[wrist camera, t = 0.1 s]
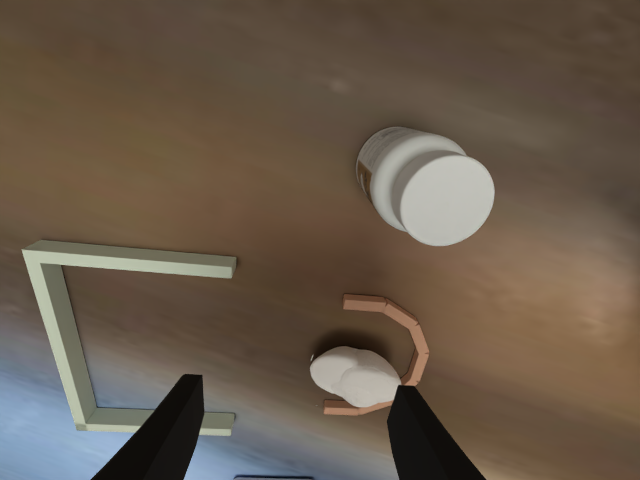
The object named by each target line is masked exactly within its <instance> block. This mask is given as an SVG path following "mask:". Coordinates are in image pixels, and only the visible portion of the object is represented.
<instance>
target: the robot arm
mask: <svg viewBox="0 0 640 480" xmlns="http://www.w3.org/2000/svg"><path fill="white" fill-rule="evenodd" d="M203 417H204V399H203V379H202V375H193V374H184V375H183V376H181V378H180V379H179V380H178V382H177V383H176V384H175V386H174V387H173V388H172V390H171V391H170V392H169V393H168V395H167V396H166V397H165V398H164V400H163V401H162V402H161V403H160V404H159V406H158V407H157V408H156V409H155V411H154V412H153V413H152V414H151V415H150V416H149V418H148V419H147V420H146V421H145V422H144V423H143V424H142V426H141V427H140V428H139V429H138V430H137V431H136V433H135V434H134V435H133V436H132V437H131V438H130V439H129V440H128V441H127V442H126V443H125V445H124V446H123V447H122V448H121V449H120V450H119V451H118V452H117V453H116V454H115V455H114V456H113V457H112V458H111V459H110V461H109V462H108V463H107V464H106V465H105V466H104V467H103V468H102V469H101V470H100V471H99V472H98V473H97V474H96V475H95V476H94V477H93V478H92V479H91V480H183V479H184V477H185V474H186V471H187V469H188V466H189V463H190V461H191V458H192V455H193V452H194V450H195V447H196V443H197V440H198V436H199V433H200V429H201V425H202V421H203ZM387 425H388V431H389V438H390V443H391V449H392V454H393V458H394V461H395V465H396V469H397V473H398V476H399V480H486V479H485V478H484V476H483V475H482V474H481V473H480V472H479V470H478V469H477V468H476V467H475V466H474V464H473V463H472V462H471V461H470V460H469V458H468V457H467V456H466V455H465V453H464V452H463V451H462V450H461V448H460V447H459V446H458V445H457V443H456V442H455V441H454V439H453V438H452V437H451V435H450V434H449V433H448V432H447V430H446V429H445V428H444V426H443V425H442V424H441V422H440V421H439V420H438V418H437V417H436V415H435V414H434V413H433V411H432V410H431V409H430V407H429V406H428V404H427V403H426V402H425V400H424V399H423V397H422V396H421V395H420V393H419V392H418V390H417V389H416V388H415V386H410V385H398V387H397V390H396V394H395V397H394V400H393V403H392V407H391V410H390V413H389V416H388V420H387ZM234 480H312V479H284V478H243V477H237V478H235V479H234Z"/></svg>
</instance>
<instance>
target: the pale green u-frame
mask: <svg viewBox="0 0 640 480" xmlns="http://www.w3.org/2000/svg"><path fill="white" fill-rule="evenodd" d="M22 252H23V256H24V259H25V262H26V265H27V269H28V272H29V275H30V279H31V282H32V285H33V288H34V292H35V295H36V298H37V301H38V305H39V308H40V311H41V315H42V318H43V321H44V324H45V328H46V331H47V334H48V337H49V341H50V344H51V347H52V351H53V354H54V357H55V360H56V364H57V367H58V370H59V373H60V377H61V380H62V383H63V387H64V390H65V393H66V396H67V400H68V403H69V406H70V409H71V413H72V416H73V419H74V423H75V426H76V429H77V430H83V431H111V432H136V431H137V430H138V429H139V428H140V427H141V426H142V424H143V423H144V422H145V421H146V420H147V419H148V418H149V416H150V415H151V414H152V413H153V412H154V411H155V410H140V409H116V408H97V406H96V402H95V398H94V394H93V390H92V386H91V382H90V378H89V374H88V370H87V366H86V362H85V358H84V355H83V351H82V347H81V343H80V339H79V335H78V331H77V327H76V323H75V319H74V315H73V311H72V307H71V303H70V299H69V295H68V291H67V287H66V283H65V280H64V276H63V272H62V268H61V265H72V266H84V267H96V268H109V269H121V270H133V271H145V272H158V273H170V274H182V275H195V276H207V277H219V278H231V279H232V276H233V274H234V272H235V269H236V257H231V256H219V255H208V254H197V253H185V252H174V251H162V250H151V249H140V248H128V247H117V246H105V245H94V244H83V243H71V242H60V241H48V240H40V241H38V242H36V243H34V244H32V245H30V246H28V247H26V248H24V249H22ZM233 424H234V413H210V412H204V417H203V421H202V425H201V429H200V433H199V435H221V436H231V432H232V428H233Z"/></svg>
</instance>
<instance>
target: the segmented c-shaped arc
mask: <svg viewBox="0 0 640 480" xmlns="http://www.w3.org/2000/svg"><path fill="white" fill-rule="evenodd" d="M342 304H343V309H348V310H361V311H374V312H383V313H384V314H386V315H388V316H389V317H391V318H392V319H394V320H395V321H397V322H399V323H400V324H402V325H403V326H405V327H406V328H408V329H409V331H410V334H411V336H412V339H413V342H414V344H415V347H416V349H415V352H414V355H413V358H412V361H411V364H410V367H409V370H408V373H407V374H406V375H404V376H403V377H402V378H401V379H400V380H401V385H410V386H415V385H417V384H418V381H420V379H421V376H422V373H423V370H424V367H425V365H426V362H427V359H428V356H429V350H428V347H427V344H426V341H425V339H424V336H423V333H422V330H421V328H420V325H419V323H418V321H417V319H416V318H415V316H413V315H412V314H410V313H408V312H407V311H405V310H404V309H402V308H401V307H399V306H398V305H396V304H395V303H393V302H392V301H390V300H389V299H387V298H386V299H384V297H376V296H364V295H351V294H344V297H343V302H342ZM392 403H393V400H392V401H389V402H383V403H377V404H375V405H372V406H370V407H356V406H353V405H352V404H350V403H348V402H347V401H338V400H324V406H323V408H324V414H338V415H358V413H359V414H360V415H362V414H365V413H368V412H371V411H374V410H377V409H380V408H383V407H386V406H390V405H392Z"/></svg>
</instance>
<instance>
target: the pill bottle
mask: <svg viewBox="0 0 640 480" xmlns="http://www.w3.org/2000/svg"><path fill="white" fill-rule="evenodd" d="M356 175H357V180H358V182H359V185H360V186H361V188H362V190H363V191H364V193H365V194H366V195H367V197H368V198H369V200H370V202H371V203H372V204H373V206H374V207H375V209H376V211H377V212H378V213H379V215H380V216H381V217H382V218H383V219H384V220H385V221H386V222H387V223H388V224H389V225H391V226H393V227H394V228H396V229H399V230H401V231H405V232H408V233H409V234H410V235H411V236H412V237H413V238H414V239H416V240H417V241H419V242H421V243H424V244H427V245H432V246H447V245H451V244H455V243H458V242H460V241H462V240H464V239H466V238H468V237H469V236H471V235H472V234H473V233H475V232H476V231H477V230H478V229H479V228H480V227H481V225H482V224H483V223H484V222H485V220H486V219H487V217H488V215H489V213H490V211H491V208H492V205H493V201H494V185H493V181H492V178H491V176H490V174H489V172H488V171H487V169H486V168H485V167H484V166H483V165H482V164H481V163H480V162H478V161H477V160H475V159H473V158H471V157H468V156H467V155H466V154H465V152H464V151H463V150H462V148H461V147H459V146H458V145H457V144H456V143H455V142H453V141H452V140H450V139H448V138H446V137H443V136H440V135H436V134H432V133H428V132H423V131H418V130H414V129H410V128H405V127H390V128H386V129H383V130H381V131H378V132H377V133H375V134H374V135H373V136H372V137H370V138H369V139H368V140H367V141H366V143H365V144H364V145H363V147H362V149H361V150H360V153H359V155H358V158H357V163H356Z"/></svg>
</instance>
